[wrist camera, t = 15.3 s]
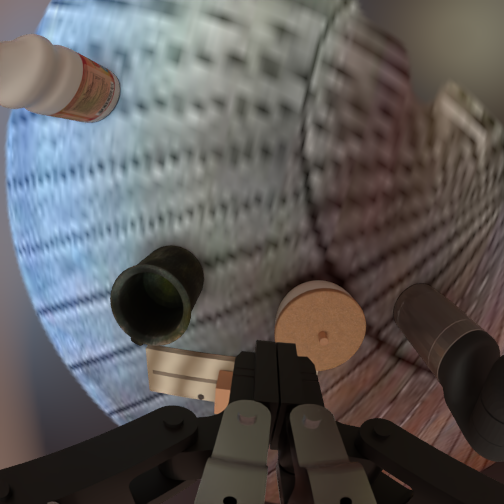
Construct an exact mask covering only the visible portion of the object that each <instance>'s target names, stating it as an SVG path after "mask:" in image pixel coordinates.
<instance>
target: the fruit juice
mask: <svg viewBox="0 0 504 504" xmlns="http://www.w3.org/2000/svg"><path fill="white" fill-rule="evenodd" d="M119 93H120V86H119V82H118V79H117V77H116V76H115V75H114V74H113V73H112V72H111V71H110V70H108V69H106V68H104V67H103V66H101V65H99V64H97V63H95V62H94V61H92V60H90V59H88V58H86V57H84V56H83V55H81V54H79V53H77V52H75V51H74V50H72V49H69V48H67V47H64V46H61V45H53V44H52V43H51V42H50V41H49V40H48V39H47V38H45V37H43V36H40V35H36V34H27V35H23V36H20V37H18V38H16V39H14V40H12V41H2V42H0V105H1V106H3V107H6V108H9V109H20V108H25V109H27V110H28V111H30V112H33V113H36V114H40V115H47V116H53V117H59V118H64V119H69V120H75V121H80V122H85V123H92V122H97V121H99V120H101V119H103V118H105V117H106V116H107V115H108V114H109V113H110V112H111V111H112V110H113V109H114V107H115V105H116V103H117V101H118V98H119Z"/></svg>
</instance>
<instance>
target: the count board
mask: <svg viewBox="0 0 504 504" xmlns="http://www.w3.org/2000/svg"><path fill="white" fill-rule="evenodd" d="M146 355H147V367H148V378H149V387H150V391H155V392H160V393H165V394H170V395H176V396H181V397H187V398H193V399H200V400H207V401H214V402H215V391H216V384H217V379H218V375H219V370H221V371H230V372H233V369H234V362H235V358H236V357H232V356H223V355H216V354H208V353H201V352H194V351H187V350H181V349H174V348H168V347H163V346H152V345H148V346H147V347H146ZM316 372H317V373H318V371H316Z"/></svg>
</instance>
